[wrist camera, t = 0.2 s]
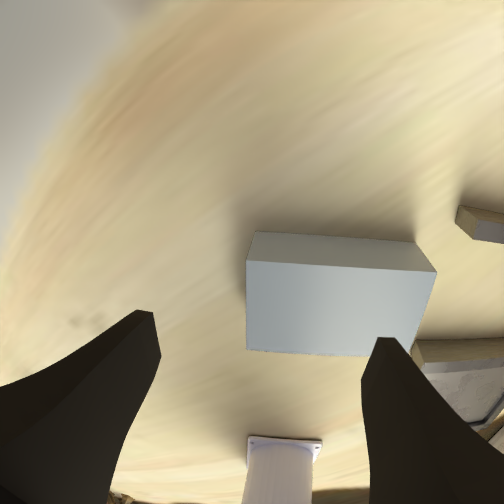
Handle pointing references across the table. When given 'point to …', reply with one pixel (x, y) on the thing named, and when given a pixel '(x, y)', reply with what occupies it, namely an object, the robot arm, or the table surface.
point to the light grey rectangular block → (333, 293)
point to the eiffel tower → (125, 499)
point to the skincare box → (498, 440)
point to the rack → (468, 348)
